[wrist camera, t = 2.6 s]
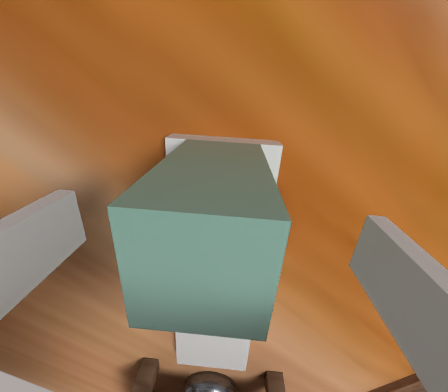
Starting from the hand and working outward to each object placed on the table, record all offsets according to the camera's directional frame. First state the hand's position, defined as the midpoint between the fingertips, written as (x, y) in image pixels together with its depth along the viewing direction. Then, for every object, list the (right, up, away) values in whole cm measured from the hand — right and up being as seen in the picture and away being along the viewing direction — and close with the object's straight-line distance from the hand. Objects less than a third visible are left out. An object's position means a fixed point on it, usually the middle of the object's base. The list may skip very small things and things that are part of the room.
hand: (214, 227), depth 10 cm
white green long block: (0, -6, +12) cm, 13 cm away
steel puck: (-1, -25, +21) cm, 32 cm away
